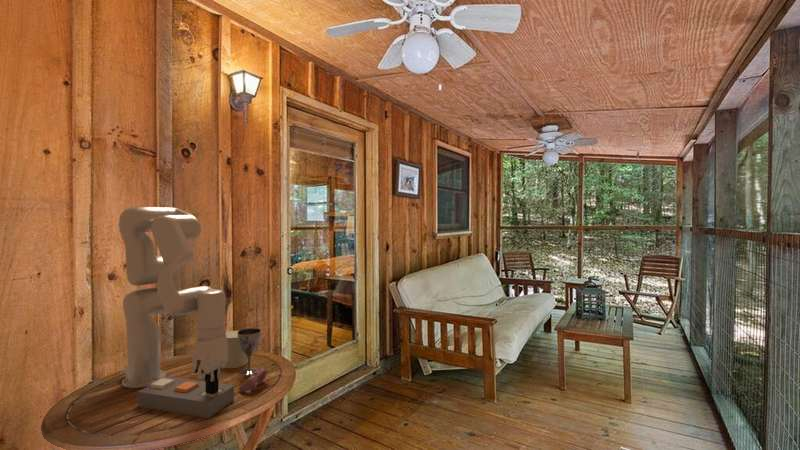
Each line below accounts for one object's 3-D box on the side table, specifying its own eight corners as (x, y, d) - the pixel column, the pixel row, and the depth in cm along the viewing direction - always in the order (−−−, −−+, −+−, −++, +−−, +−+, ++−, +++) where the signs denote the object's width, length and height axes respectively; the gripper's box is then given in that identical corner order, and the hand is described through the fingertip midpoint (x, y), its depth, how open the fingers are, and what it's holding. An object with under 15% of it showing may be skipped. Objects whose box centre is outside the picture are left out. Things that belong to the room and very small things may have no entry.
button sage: (200, 404, 113) (200, 394, 113) (210, 397, 118) (210, 388, 118) (212, 406, 112) (212, 396, 112) (223, 399, 117) (223, 390, 117)
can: (242, 368, 143) (242, 336, 143) (217, 368, 143) (217, 336, 143) (251, 359, 153) (251, 329, 152) (227, 359, 152) (227, 329, 152)
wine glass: (237, 377, 135) (237, 335, 135) (237, 369, 143) (237, 329, 142) (261, 374, 139) (261, 333, 138) (260, 366, 146) (260, 327, 145)
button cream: (150, 393, 118) (150, 384, 118) (162, 387, 122) (162, 378, 122) (162, 395, 117) (162, 385, 117) (174, 389, 121) (174, 379, 121)
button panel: (137, 406, 115) (137, 391, 115) (168, 389, 126) (168, 376, 126) (208, 418, 109) (208, 402, 109) (234, 399, 120) (234, 385, 119)
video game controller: (247, 398, 124) (256, 380, 123) (236, 391, 124) (245, 373, 123) (264, 385, 133) (272, 368, 132) (253, 378, 134) (262, 361, 133)
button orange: (174, 397, 116) (174, 387, 116) (186, 390, 120) (186, 381, 120) (187, 399, 115) (187, 389, 114) (198, 392, 119) (198, 383, 119)
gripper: (218, 323, 122) (218, 380, 123) (181, 338, 108) (181, 402, 109) (238, 325, 121) (239, 383, 121) (203, 341, 106) (204, 406, 107)
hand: (212, 392), depth 115 cm, fingers closed
